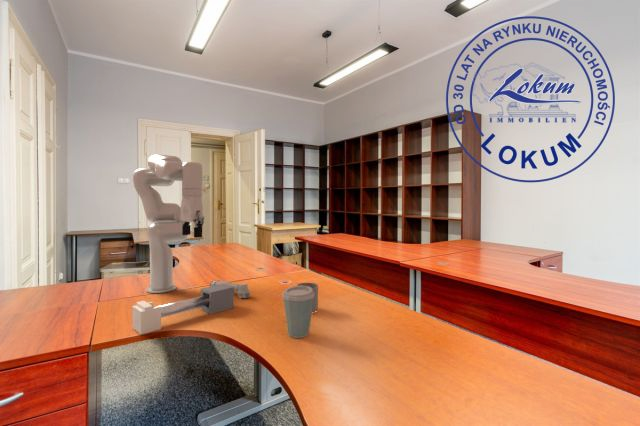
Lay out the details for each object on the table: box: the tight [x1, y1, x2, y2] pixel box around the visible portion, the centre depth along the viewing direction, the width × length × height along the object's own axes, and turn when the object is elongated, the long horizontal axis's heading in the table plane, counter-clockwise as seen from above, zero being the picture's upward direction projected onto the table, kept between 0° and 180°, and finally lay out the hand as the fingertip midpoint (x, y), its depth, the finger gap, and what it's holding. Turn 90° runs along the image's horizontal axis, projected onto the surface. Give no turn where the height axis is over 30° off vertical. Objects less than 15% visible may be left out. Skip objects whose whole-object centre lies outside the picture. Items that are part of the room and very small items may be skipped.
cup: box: [296, 282, 319, 312], centre depth 125 cm, size 8×8×10 cm
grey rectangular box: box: [200, 284, 235, 315], centre depth 125 cm, size 7×10×8 cm
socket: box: [132, 300, 162, 335], centre depth 105 cm, size 8×6×8 cm
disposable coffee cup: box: [281, 285, 315, 339], centre depth 103 cm, size 11×11×15 cm
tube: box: [153, 295, 209, 319], centre depth 113 cm, size 4×22×4 cm, turn 138°
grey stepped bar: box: [209, 280, 251, 299], centre depth 145 cm, size 5×7×25 cm
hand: (192, 236), depth 127 cm, fingers open, 9 cm apart
